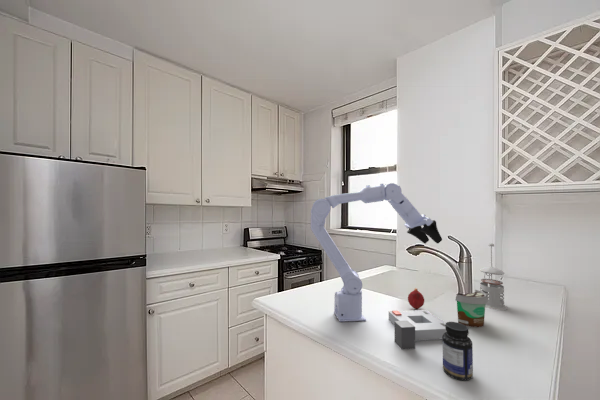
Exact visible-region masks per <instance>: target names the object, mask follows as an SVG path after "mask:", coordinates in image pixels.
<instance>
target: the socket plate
mask: <svg viewBox="0 0 600 400" xmlns="http://www.w3.org/2000/svg"><path fill="white" fill-rule="evenodd" d="M388 321H389V322H390V323H391V324H392V325H393V326H394V327H395V321H409V322H410V323H411V324H412V325H414V326H415V342H416V341H417V342H419V341H433V340H435V341H436V340H442V336H443V334H444V333H445V332H447V331H446V329H445V327H446V326H445V324H446V323H447V322H445V321H444V320H443V319H441V318H440V317H438V316H436V315H435V314H434V313H431V312H430V311H429V310H428V309H414V310H413V309H412V310H411V309H410V310H390V311H388Z"/></svg>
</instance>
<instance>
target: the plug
mask: <svg viewBox="0 0 600 400" xmlns="http://www.w3.org/2000/svg"><path fill="white" fill-rule="evenodd" d="M394 343H395V344H396V345H397V346H398V347H399V349H401V350H415V349H416V341H415V326H414V325H412V324H411V323H410V322H409V321H395V326H394Z"/></svg>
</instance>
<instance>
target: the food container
mask: <svg viewBox="0 0 600 400" xmlns="http://www.w3.org/2000/svg"><path fill="white" fill-rule="evenodd" d="M488 299H489V298H488ZM488 299H487V296H486V294H485V293H483V292H481V291H480V290H478V289H475V290H474V292H472V293H471V292H469V293H467V292H466V293H464V294H463V295H462V294H461V295H460V294H458V293H457V294H456V295H455V302H456V310H457V312H456V313H457V321H458V323H461V324H463V325H465V326H467V327H468V328H469V327H470V328H483V327H484V325H485V314H486V313H485V312H486V307H485V304H486V303H488Z"/></svg>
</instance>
